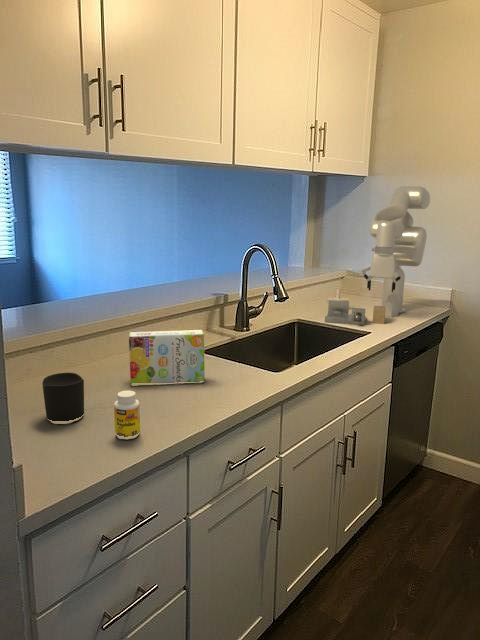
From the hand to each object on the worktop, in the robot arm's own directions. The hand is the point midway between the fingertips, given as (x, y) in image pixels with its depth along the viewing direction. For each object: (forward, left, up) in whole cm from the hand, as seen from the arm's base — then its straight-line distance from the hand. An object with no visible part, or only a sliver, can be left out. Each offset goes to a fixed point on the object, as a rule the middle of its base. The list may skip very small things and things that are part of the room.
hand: (380, 290), depth 228 cm
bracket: (+3, -14, -14) cm, 20 cm away
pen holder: (+130, -69, -14) cm, 148 cm away
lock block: (-1, 0, -14) cm, 14 cm away
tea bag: (-15, +5, -14) cm, 21 cm away
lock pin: (+5, -8, -12) cm, 16 cm away
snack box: (+99, -56, -14) cm, 115 cm away
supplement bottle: (+134, -50, -14) cm, 144 cm away
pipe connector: (-19, -20, -14) cm, 31 cm away
